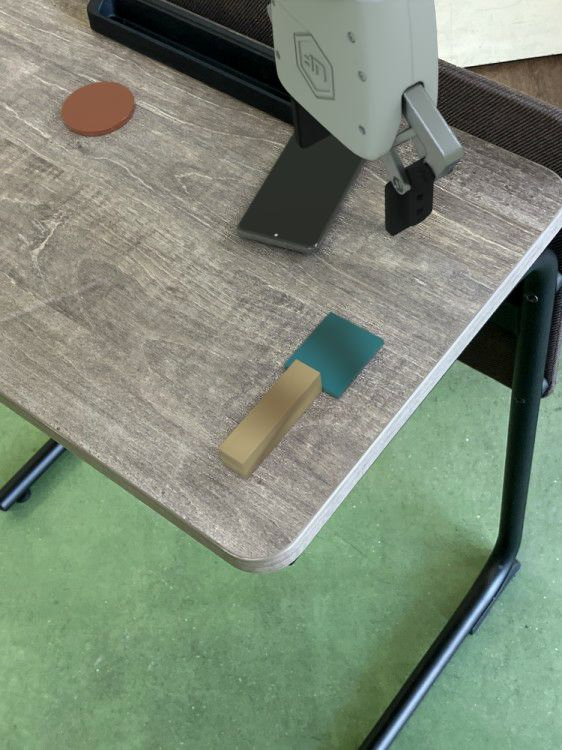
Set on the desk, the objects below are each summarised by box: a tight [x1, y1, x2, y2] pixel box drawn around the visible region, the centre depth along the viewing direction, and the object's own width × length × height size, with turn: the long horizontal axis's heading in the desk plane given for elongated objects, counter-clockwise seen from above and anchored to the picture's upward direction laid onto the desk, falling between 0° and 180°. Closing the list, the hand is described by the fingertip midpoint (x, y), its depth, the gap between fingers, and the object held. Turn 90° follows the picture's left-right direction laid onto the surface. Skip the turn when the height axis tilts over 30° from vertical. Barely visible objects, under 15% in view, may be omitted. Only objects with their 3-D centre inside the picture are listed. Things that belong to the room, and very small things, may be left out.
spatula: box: [217, 311, 385, 481], centre depth 69 cm, size 15×5×2 cm, turn 142°
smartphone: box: [236, 131, 367, 255], centre depth 82 cm, size 7×1×16 cm
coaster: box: [60, 80, 136, 137], centre depth 90 cm, size 7×7×1 cm
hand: (361, 178), depth 61 cm, fingers open, 9 cm apart
